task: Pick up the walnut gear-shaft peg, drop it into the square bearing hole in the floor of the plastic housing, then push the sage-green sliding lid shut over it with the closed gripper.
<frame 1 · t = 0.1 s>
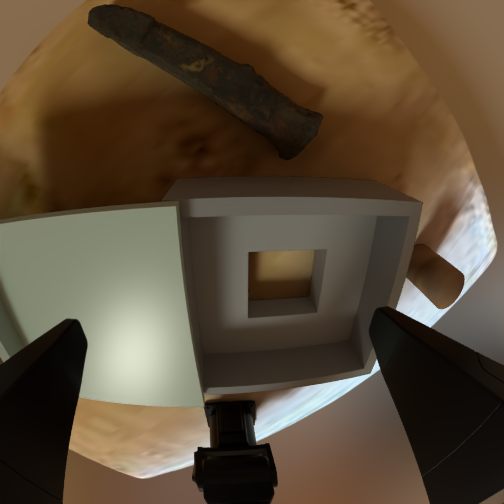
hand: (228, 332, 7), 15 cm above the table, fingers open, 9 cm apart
peg: (416, 261, 25), on the table
dark brown rough bar: (190, 75, 17), on the table
housing: (279, 270, 24), on the table
lid: (74, 338, 15), point 8 cm above the table, slide at 15.0 cm
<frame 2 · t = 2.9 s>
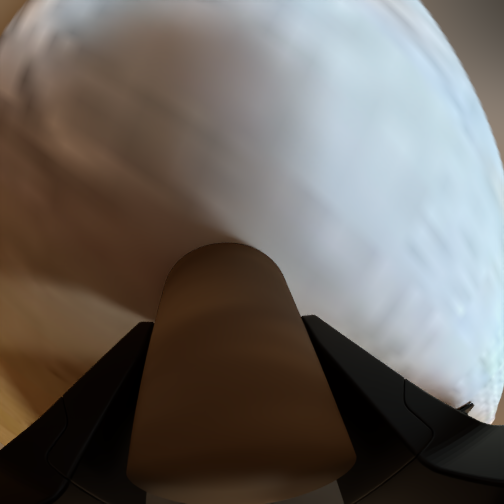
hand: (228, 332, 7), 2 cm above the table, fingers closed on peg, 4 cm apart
peg: (225, 300, 9), on the table, touching gripper
housing: (235, 466, 15), on the table
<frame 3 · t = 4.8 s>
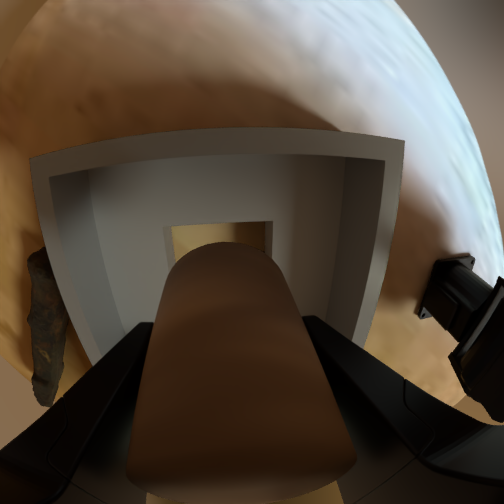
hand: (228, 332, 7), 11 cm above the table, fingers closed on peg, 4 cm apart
peg: (225, 299, 9), point 9 cm above the table, touching gripper
dark brown rough bar: (62, 332, 20), on the table
housing: (219, 253, 18), on the table
when the fingers open (3 cm above the table, at t = 6.7 s): peg drops 2 cm, resting in housing.
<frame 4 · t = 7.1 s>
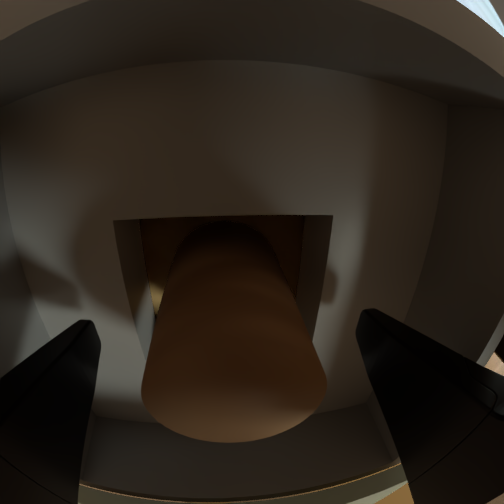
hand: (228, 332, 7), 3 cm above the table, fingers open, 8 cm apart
peg: (224, 270, 11), resting in housing
housing: (223, 271, 11), on the table
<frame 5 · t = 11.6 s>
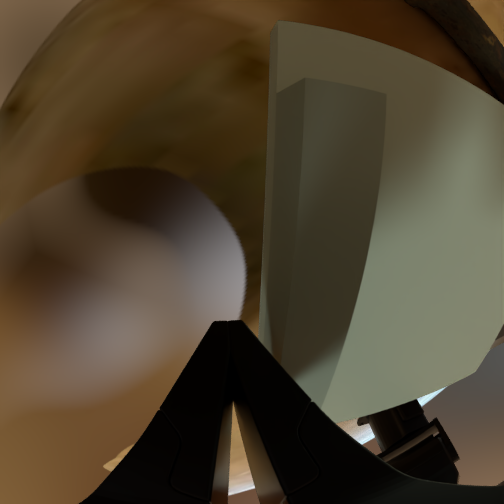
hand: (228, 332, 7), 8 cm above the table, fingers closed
dark brown rough bar: (449, 39, 11), on the table
lid: (463, 299, 8), point 8 cm above the table, slide at 14.2 cm, touching gripper
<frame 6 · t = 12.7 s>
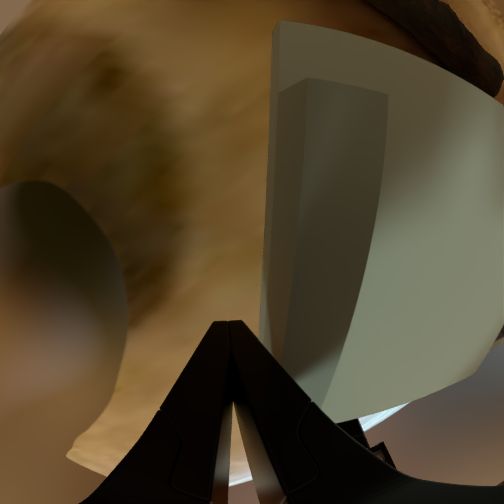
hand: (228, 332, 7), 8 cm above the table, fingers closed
dark brown rough bar: (366, 3, 10), on the table
lid: (463, 300, 8), point 8 cm above the table, slide at 6.7 cm, touching gripper
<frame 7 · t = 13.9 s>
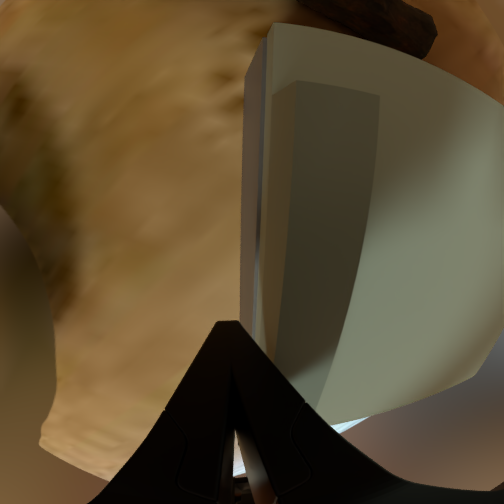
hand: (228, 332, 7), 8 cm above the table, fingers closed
housing: (371, 226, 16), on the table
lid: (461, 302, 8), point 8 cm above the table, slide at -0.1 cm, touching gripper
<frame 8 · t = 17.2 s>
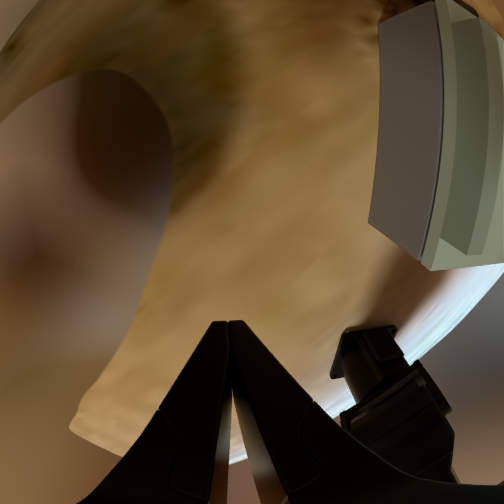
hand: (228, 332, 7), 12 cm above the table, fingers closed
housing: (450, 138, 17), on the table
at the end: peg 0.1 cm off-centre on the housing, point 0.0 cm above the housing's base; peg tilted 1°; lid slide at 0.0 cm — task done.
